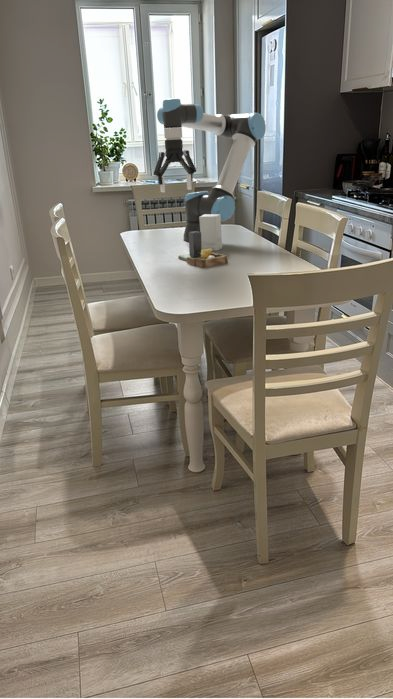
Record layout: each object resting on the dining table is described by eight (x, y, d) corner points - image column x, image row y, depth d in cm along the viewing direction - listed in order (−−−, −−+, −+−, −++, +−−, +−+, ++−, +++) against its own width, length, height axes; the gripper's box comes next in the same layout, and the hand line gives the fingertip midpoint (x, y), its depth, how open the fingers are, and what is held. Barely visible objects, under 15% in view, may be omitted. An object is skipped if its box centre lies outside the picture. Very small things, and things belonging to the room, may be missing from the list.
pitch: (200, 254, 231) (200, 247, 230) (228, 262, 215) (228, 255, 213) (175, 259, 225) (175, 252, 224) (202, 268, 208) (202, 260, 207)
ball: (213, 252, 214) (218, 258, 212) (211, 259, 216) (216, 265, 215) (206, 254, 212) (211, 259, 210) (204, 261, 215) (208, 266, 213)
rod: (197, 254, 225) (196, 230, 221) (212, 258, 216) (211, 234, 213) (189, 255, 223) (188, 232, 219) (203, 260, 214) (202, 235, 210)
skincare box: (222, 248, 241) (221, 214, 235) (216, 251, 236) (216, 216, 230) (206, 247, 245) (204, 213, 239) (200, 250, 239) (198, 215, 233)
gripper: (193, 137, 230) (195, 187, 238) (143, 140, 218) (147, 193, 226) (202, 137, 224) (204, 188, 232) (151, 140, 212) (155, 194, 220)
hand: (176, 191), depth 229 cm, fingers open, 13 cm apart
